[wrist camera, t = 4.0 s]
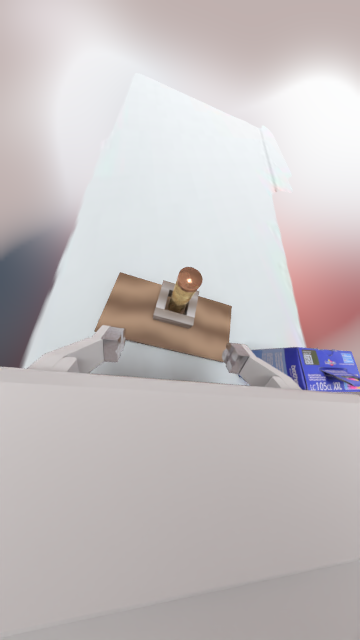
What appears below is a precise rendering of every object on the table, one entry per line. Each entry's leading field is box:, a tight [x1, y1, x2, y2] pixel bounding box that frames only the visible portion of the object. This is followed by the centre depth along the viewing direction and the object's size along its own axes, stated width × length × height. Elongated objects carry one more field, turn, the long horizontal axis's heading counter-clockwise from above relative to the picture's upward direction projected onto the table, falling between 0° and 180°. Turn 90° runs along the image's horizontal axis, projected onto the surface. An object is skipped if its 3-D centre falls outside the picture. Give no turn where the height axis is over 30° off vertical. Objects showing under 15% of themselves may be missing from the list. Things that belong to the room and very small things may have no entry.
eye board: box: [95, 272, 232, 362], centre depth 25 cm, size 12×24×4 cm, turn 78°
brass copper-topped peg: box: [168, 267, 202, 313], centre depth 21 cm, size 3×3×10 cm
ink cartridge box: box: [239, 347, 360, 392], centre depth 21 cm, size 10×6×14 cm, turn 88°
